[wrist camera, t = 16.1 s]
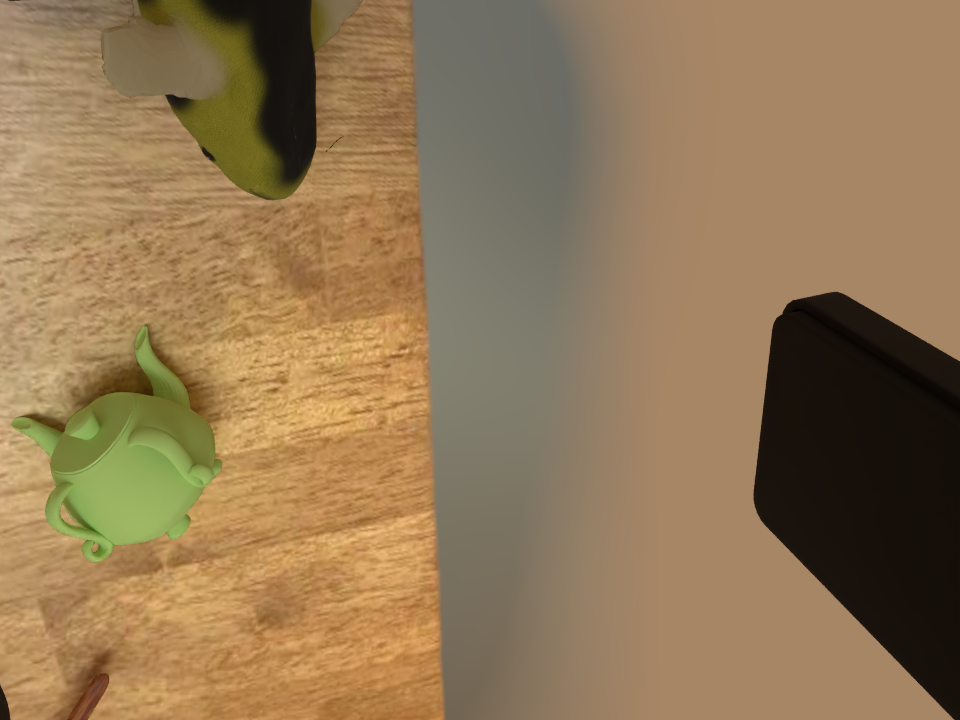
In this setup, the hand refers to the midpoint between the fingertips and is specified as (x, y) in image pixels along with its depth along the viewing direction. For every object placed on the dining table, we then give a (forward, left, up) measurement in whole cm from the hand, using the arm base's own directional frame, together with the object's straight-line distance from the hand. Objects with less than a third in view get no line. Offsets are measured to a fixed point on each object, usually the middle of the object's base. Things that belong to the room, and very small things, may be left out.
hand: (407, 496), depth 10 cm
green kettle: (+7, -12, -25) cm, 28 cm away
